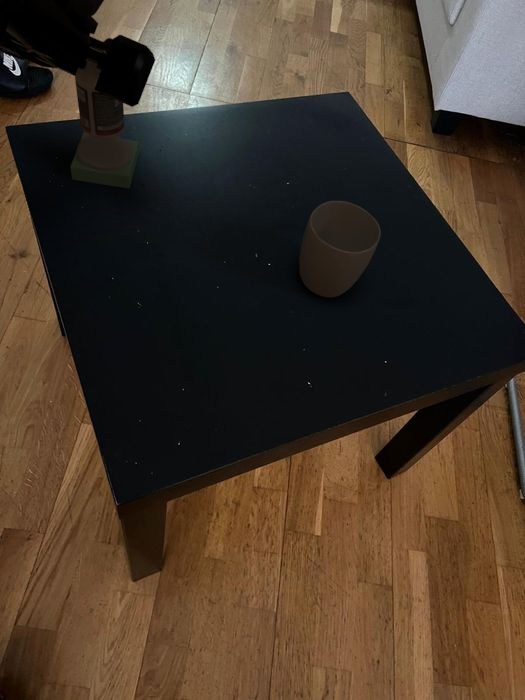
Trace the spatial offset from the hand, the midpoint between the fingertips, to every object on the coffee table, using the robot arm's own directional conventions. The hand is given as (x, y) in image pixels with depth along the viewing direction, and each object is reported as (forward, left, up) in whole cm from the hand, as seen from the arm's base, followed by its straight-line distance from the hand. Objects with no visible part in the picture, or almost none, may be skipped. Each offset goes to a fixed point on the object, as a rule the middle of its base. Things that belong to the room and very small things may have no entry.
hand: (105, 76), depth 68 cm
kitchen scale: (-1, -1, -13) cm, 13 cm away
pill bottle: (-1, -1, -7) cm, 7 cm away
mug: (+32, -15, -13) cm, 38 cm away
